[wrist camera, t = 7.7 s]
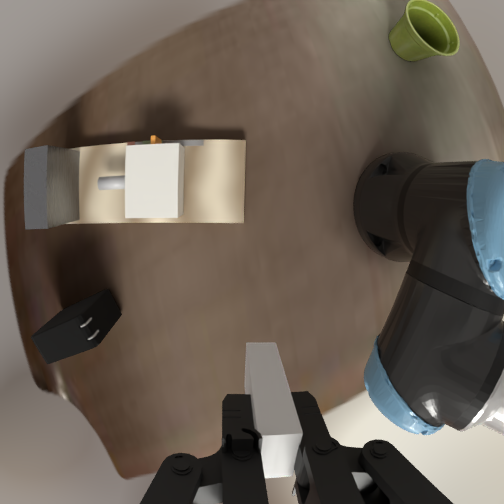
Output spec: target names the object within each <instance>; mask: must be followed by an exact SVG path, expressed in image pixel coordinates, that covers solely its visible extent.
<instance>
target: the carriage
mask: <svg viewBox="0 0 504 504" xmlns="http://www.w3.org/2000/svg"><path fill="white" fill-rule="evenodd" d="M184 151H185V148H184V147H183V146H182V145H181V144H180V143H165V144H162V140H161V139H160V138H158V137H157V136H151V144H144V145H129V146H126V159H125V175H122V176H105V177H99V178H98V183H97V184H98V189H99V190H115V189H125V218H178V217H180V216H182V215H183V193H184Z"/></svg>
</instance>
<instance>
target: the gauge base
mask: <svg viewBox="0 0 504 504" xmlns="http://www.w3.org/2000/svg"><path fill="white" fill-rule="evenodd" d="M165 143H180V144H181V145H182V146H183V147H184V148H185V151H184V193H183V215H182V216H180V217H178V218H125V189H115V190H99V189H98V184H97V183H98V178H99V177H105V176H122V175H125V159H126V146H129V145H144V144H151V140H149V141H142V142H135V141H134V142H127V143H118V144H107V145H97V146H88V147H80V148H72V149H71V150H76V151H80V161H79V215H80V220H77V221H73V222H69V223H66V224H81V223H157V222H187V223H244V188H245V152H246V140H166V141H163V140H162V144H165Z"/></svg>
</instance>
